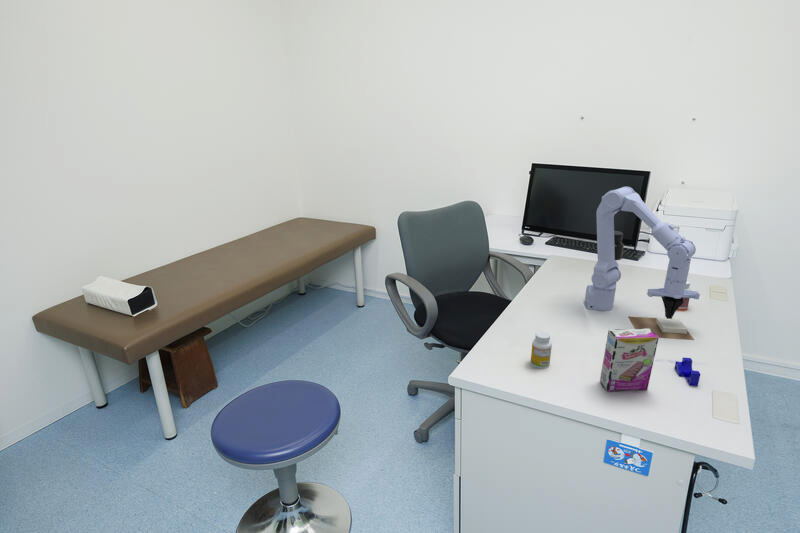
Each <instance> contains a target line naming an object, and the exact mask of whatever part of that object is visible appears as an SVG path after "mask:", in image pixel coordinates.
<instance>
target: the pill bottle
mask: <svg viewBox="0 0 800 533" xmlns="http://www.w3.org/2000/svg"><path fill="white" fill-rule="evenodd" d="M690 286H691V281H690V280H688V279H687V281H686V286H685V290H689V291H692V289H691V288H690ZM690 299H691V298H683V300H684V302H683V304H682V305H681V306H680V307H679V308H678V309H677V310H676V311H677V312H685V311H688V308H689V305H690Z"/></svg>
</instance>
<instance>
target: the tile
mask: <svg viewBox="0 0 800 533" xmlns="http://www.w3.org/2000/svg"><path fill="white" fill-rule="evenodd" d="M655 318H656V323H657V325H658V326H659V328H660V329H661V331H662V332H665V333H681V334H687V331H688V328H687V327H686V325H685V324H684V323H683V322H682V320H681V319H680V318H679V319H678V318H672V319H667V318H666V317H665V318H663V317H655Z"/></svg>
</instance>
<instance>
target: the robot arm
mask: <svg viewBox="0 0 800 533" xmlns="http://www.w3.org/2000/svg"><path fill="white" fill-rule="evenodd" d="M620 211H623V212H631V213H633V214H635V216H636V217H637V218H639V219H640V220H641V221H642V222H643V223H644V224H645V225H646V226H648V228H650V230H651V236H652V237H653V238H654V239H655V241H657V242H658V243H659V244H660V245H661V246H662V247H663V248H664V250H665V251H667V252H666V254H667V257H668V259H669V261H668V264H667V269H666V276H665V279H664V284H663V285H664V286H663V287H660V288H649V289H647V293H646V295H647V297H648V298H653V297H659V298H661V300H662V303H663V306H664V316H665V318H666V319H673V317H674V315H675V313H676V311H677V309H678V308H679V307H680V306H681V305H682V304H683V302H684V300H683V298H690V299H694V300H699V299H700V296H701V294H700V293H699V292H698V291H695V290H691V291H689V290H685V286H686V281H687V280H688V276H689V272H690V266H691V265H690V264H691V260H692V259H691V258H692V257H693V256H694V255H695V254H696V249H697V248H696V245H695V244H694V243H693V241H692V240H689V239H686V238H685V237H684V236H681V234H680V233H679V232H678V231H677V230H676V229H674V228H675V226H674V225H673V224H672V223H671V224H670V223H668V222H665V221H664V222H663V221H661V219H659V217H658V216H657V215H655V213H654V212H653V211H652V210H651V209H650V207H648V205H647V204H646V203H645V202H644V200H642V198H641V196H640V194H639V193H638V192H636V191H635V190H634V189H633V188H632V187H630V186H622V187H620V188H617V189H611V190H609V191H607V192H606V193H605V194H604V195H602V196H601V201H600V203H599V204H598V207H597V209H596V214H595V215H596V217H595V218H596V242H597V243H596V245H597V246H596V247H597V262H596V263H595V265H594V267H593V273H592V276H591V283H592V284H589V285H588V284H587V286H586V288H585V297H584V305H585V306H586V307H585V308H586V309H587V310H594V311H601V312H608V311H612V310H613V309H614V302H615V297H616V289H617V282H619V281H620V279H621V277H622V273H621V270H620V268H619V263H618V261H617V260H615V253H614V231H615V220H614V218H615V215H616V214H617V213H618V212H620Z"/></svg>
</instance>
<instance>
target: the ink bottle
mask: <svg viewBox="0 0 800 533" xmlns="http://www.w3.org/2000/svg"><path fill="white" fill-rule="evenodd" d="M623 237H624V233H623V232H622V231H619V230H614V253H615V261H617V260H621V259H623V253H624V248H625V245H624V243H623Z"/></svg>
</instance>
